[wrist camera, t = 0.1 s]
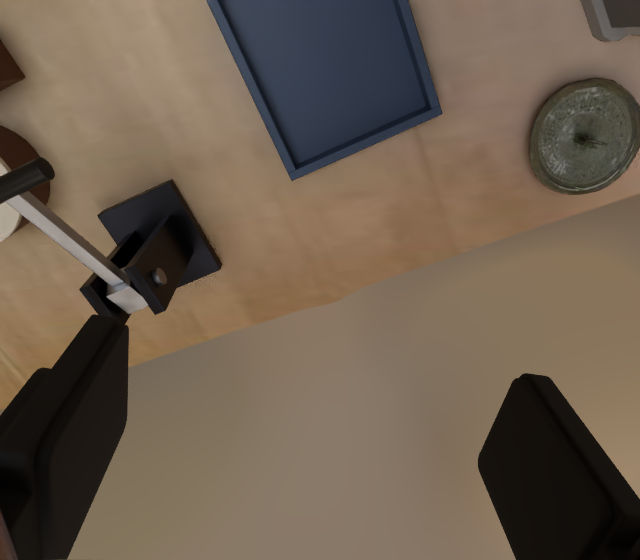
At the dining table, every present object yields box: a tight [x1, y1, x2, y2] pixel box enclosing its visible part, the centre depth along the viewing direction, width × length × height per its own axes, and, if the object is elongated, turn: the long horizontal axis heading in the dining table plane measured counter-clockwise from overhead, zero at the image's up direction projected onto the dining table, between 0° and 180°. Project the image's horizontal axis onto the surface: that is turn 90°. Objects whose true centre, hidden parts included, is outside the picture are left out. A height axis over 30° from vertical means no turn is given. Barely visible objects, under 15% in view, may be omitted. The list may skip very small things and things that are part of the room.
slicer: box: [79, 179, 222, 325], centre depth 43 cm, size 10×8×13 cm
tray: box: [207, 0, 442, 181], centre depth 41 cm, size 17×15×2 cm
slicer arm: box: [0, 157, 148, 314], centre depth 35 cm, size 14×6×2 cm, turn 23°
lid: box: [529, 78, 640, 195], centre depth 44 cm, size 11×10×5 cm
